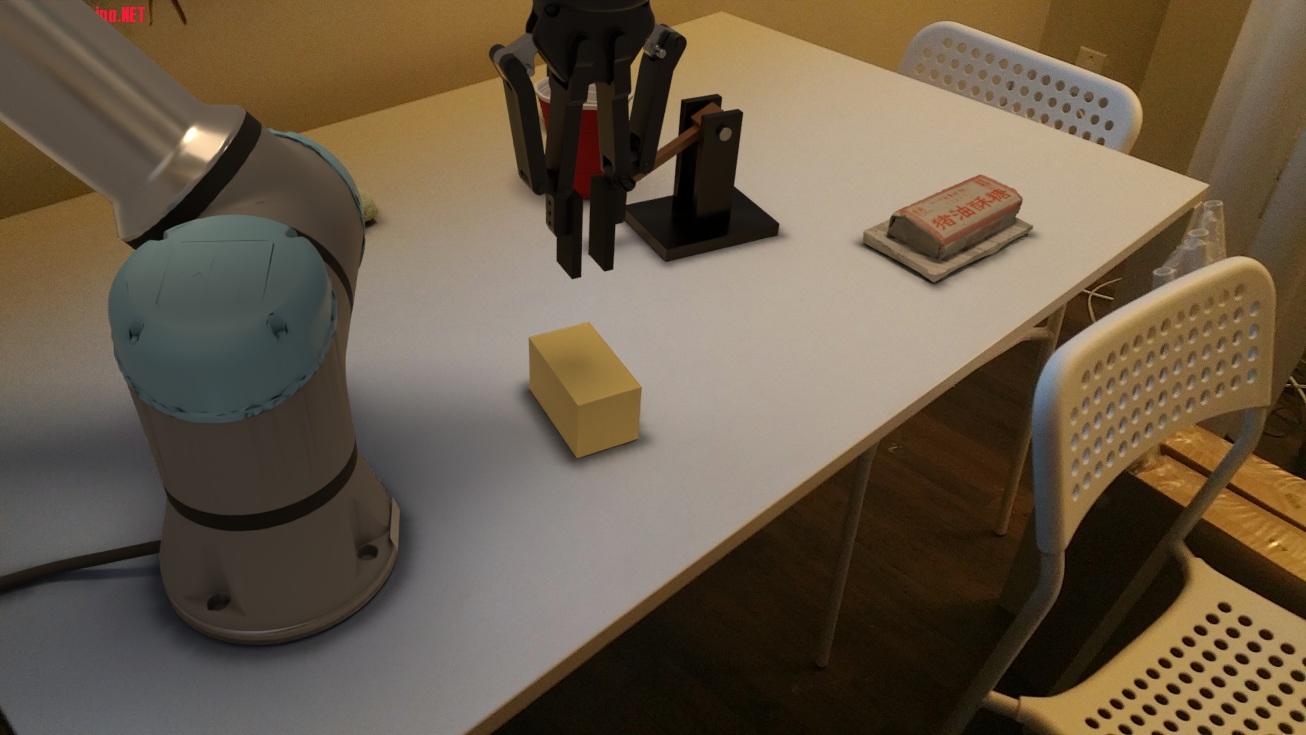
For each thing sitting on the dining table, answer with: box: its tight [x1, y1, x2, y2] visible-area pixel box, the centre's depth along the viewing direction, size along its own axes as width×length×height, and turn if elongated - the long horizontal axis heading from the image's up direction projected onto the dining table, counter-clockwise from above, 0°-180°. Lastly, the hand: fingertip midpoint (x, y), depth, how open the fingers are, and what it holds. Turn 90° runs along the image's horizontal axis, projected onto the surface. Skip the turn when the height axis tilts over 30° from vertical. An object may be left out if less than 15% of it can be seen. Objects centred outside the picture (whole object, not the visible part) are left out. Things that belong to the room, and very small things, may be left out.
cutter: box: [624, 93, 781, 262], centre depth 103 cm, size 14×10×14 cm
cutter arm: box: [632, 102, 725, 184], centre depth 99 cm, size 16×3×3 cm, turn 119°
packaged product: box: [862, 174, 1034, 283], centre depth 107 cm, size 18×5×10 cm
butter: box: [528, 321, 643, 459], centre depth 80 cm, size 6×10×6 cm, turn 29°
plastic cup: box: [533, 76, 635, 199], centre depth 109 cm, size 11×11×12 cm
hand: (584, 264), depth 73 cm, fingers open, 2 cm apart
